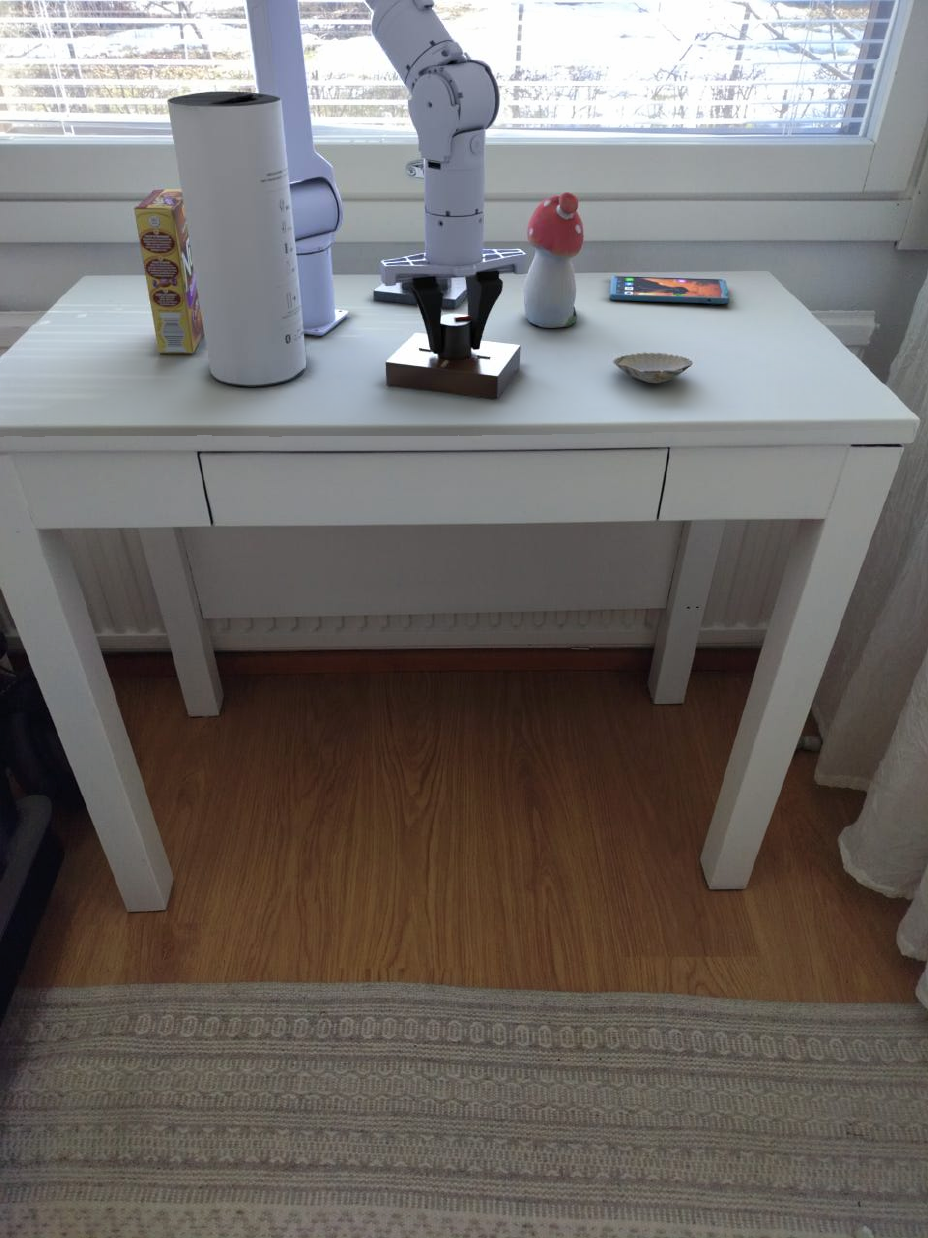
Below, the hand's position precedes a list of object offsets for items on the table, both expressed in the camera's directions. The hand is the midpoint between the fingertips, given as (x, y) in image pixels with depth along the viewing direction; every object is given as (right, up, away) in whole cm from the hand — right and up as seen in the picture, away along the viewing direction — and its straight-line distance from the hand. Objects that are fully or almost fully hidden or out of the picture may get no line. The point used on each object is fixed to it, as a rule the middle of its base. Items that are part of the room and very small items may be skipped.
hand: (454, 348), depth 96 cm
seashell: (+21, -3, +2) cm, 21 cm away
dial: (0, 0, 0) cm, 0 cm away
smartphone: (+28, +14, +24) cm, 39 cm away
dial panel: (0, -2, +2) cm, 3 cm away
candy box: (-31, +4, +10) cm, 33 cm away
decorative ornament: (+12, +8, +16) cm, 22 cm away
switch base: (-4, +14, +24) cm, 28 cm away
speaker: (-21, -1, +3) cm, 21 cm away
